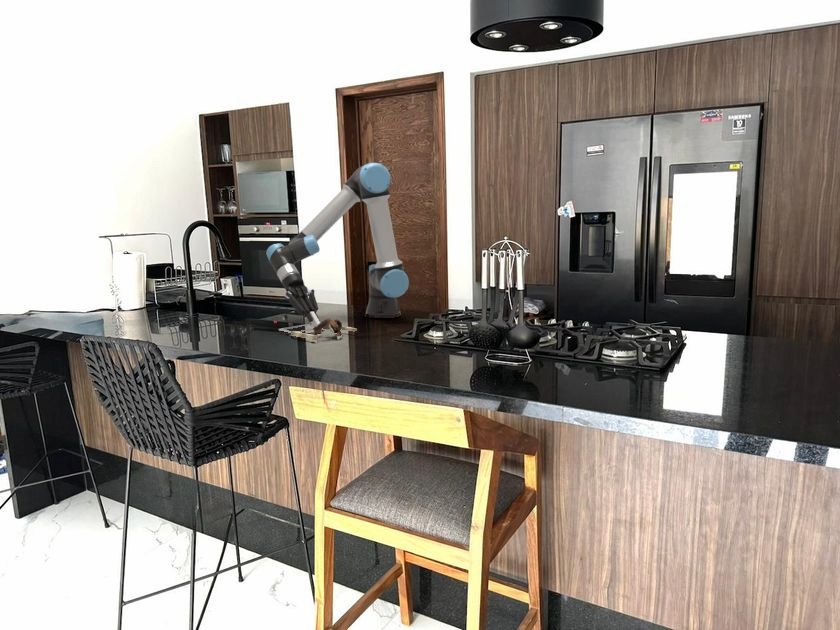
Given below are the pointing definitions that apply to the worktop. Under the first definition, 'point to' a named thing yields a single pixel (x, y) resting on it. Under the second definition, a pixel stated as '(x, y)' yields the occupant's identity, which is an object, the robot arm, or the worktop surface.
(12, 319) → the worktop surface
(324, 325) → the broken clay vessel
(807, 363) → the worktop surface
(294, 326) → the tray
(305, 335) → the guide channel
